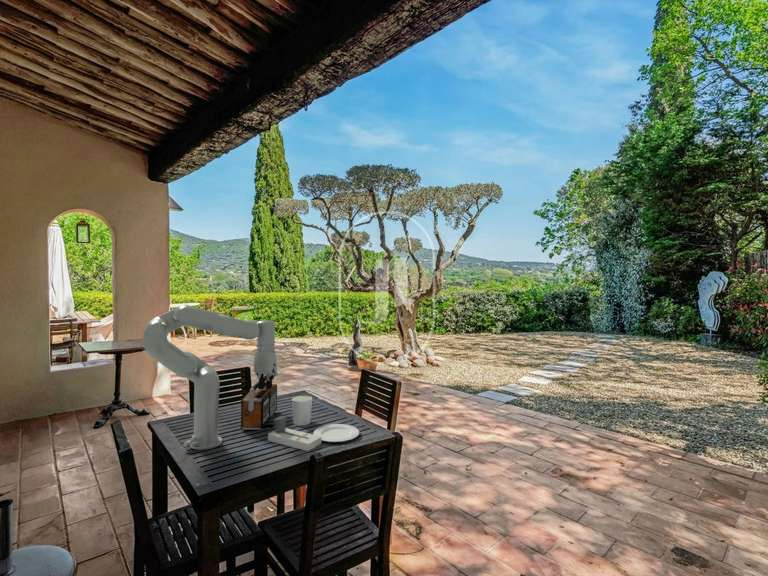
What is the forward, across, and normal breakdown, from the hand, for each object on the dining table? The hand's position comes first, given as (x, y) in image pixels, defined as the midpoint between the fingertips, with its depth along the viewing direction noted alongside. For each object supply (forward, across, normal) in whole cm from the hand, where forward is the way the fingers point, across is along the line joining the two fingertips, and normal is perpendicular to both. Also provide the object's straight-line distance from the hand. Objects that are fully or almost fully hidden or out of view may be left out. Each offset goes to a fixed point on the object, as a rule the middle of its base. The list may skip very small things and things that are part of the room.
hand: (265, 387), depth 182 cm
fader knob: (+18, +9, 0) cm, 20 cm away
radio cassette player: (+22, -14, +12) cm, 28 cm away
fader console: (+21, +17, 0) cm, 27 cm away
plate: (+22, +29, +15) cm, 39 cm away
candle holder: (+21, +5, +20) cm, 30 cm away
